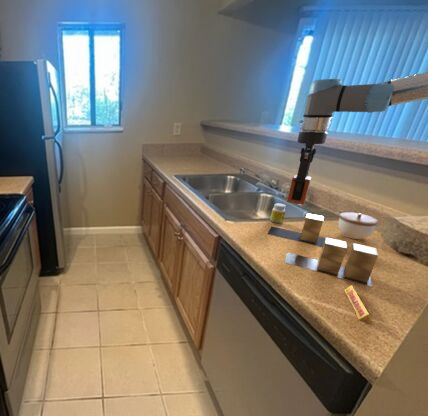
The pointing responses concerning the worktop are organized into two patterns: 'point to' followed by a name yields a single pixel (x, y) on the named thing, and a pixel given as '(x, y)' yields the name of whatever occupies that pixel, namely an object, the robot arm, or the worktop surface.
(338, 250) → the tan upright block
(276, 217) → the supplement bottle
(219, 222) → the worktop surface
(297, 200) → the block
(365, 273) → the block
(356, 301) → the chocolate bar
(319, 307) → the worktop surface
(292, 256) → the light grey flat rectangle
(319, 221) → the O block
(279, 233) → the mat
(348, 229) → the trinket box
